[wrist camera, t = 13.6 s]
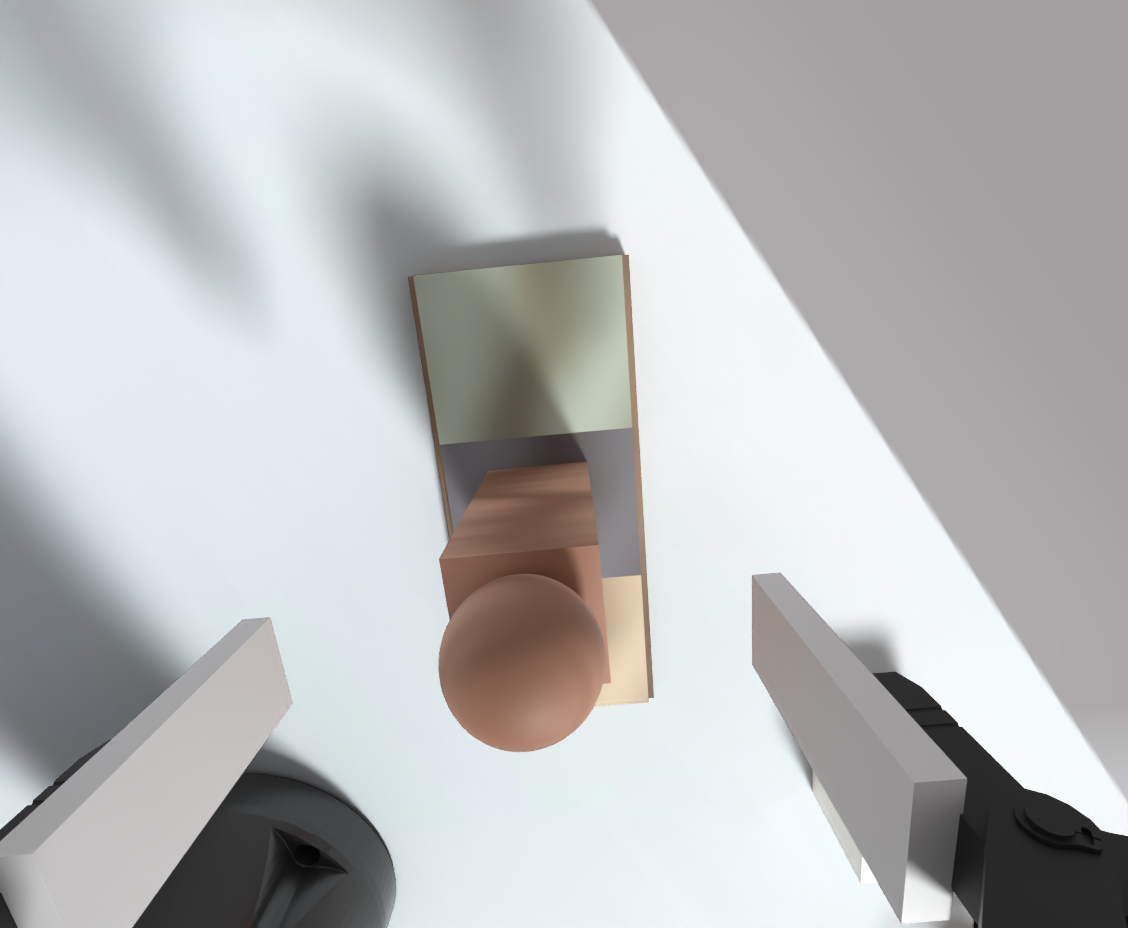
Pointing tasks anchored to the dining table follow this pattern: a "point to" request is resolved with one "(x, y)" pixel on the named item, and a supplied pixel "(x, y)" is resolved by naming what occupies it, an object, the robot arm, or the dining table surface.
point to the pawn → (525, 609)
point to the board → (546, 411)
